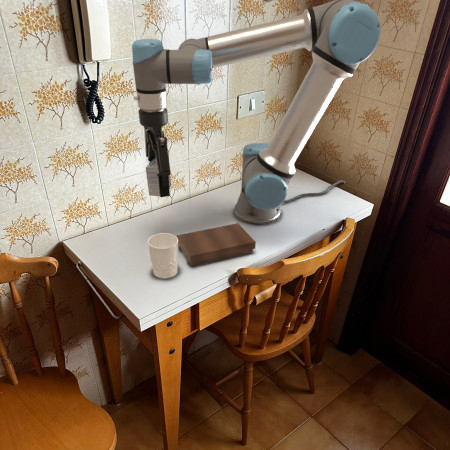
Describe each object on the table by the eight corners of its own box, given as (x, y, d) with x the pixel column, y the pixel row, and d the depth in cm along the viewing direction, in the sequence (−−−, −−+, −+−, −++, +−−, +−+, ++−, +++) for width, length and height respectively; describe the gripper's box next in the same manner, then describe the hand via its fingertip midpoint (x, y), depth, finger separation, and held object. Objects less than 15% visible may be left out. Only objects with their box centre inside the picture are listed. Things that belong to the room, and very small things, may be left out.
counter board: (237, 234, 138) (238, 222, 136) (254, 253, 130) (255, 241, 127) (177, 247, 132) (176, 235, 129) (190, 268, 123) (190, 256, 121)
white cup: (147, 278, 119) (143, 246, 113) (156, 262, 125) (153, 231, 119) (175, 281, 118) (173, 250, 112) (183, 265, 124) (181, 234, 118)
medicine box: (163, 197, 126) (160, 168, 121) (148, 195, 127) (145, 166, 121) (171, 185, 132) (169, 157, 127) (157, 184, 133) (154, 156, 127)
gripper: (128, 99, 122) (138, 177, 136) (150, 121, 106) (158, 207, 120) (155, 96, 124) (161, 173, 138) (179, 118, 108) (184, 202, 123)
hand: (160, 189), depth 129 cm, fingers closed on medicine box, 9 cm apart
